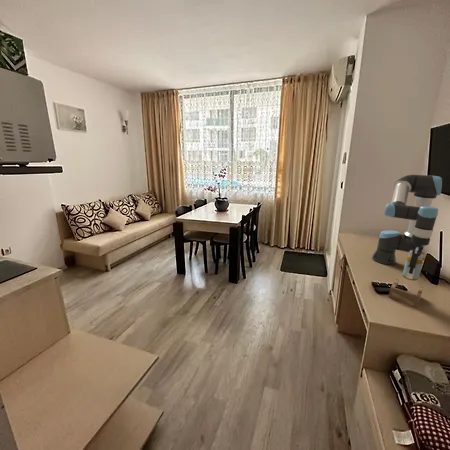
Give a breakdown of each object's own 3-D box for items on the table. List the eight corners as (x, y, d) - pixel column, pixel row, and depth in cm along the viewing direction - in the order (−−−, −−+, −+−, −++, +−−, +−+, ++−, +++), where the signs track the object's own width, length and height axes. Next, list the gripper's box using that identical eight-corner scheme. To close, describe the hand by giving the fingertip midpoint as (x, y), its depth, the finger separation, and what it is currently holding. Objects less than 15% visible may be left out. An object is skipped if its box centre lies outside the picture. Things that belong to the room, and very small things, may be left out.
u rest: (393, 288, 145) (396, 279, 144) (420, 297, 137) (423, 287, 135) (388, 297, 135) (390, 287, 134) (416, 307, 127) (419, 297, 125)
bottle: (420, 281, 130) (428, 255, 126) (405, 280, 131) (412, 253, 127) (413, 275, 136) (420, 250, 132) (399, 274, 138) (406, 249, 133)
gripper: (415, 230, 137) (405, 268, 143) (409, 238, 123) (398, 279, 129) (432, 234, 132) (421, 273, 138) (428, 242, 118) (416, 285, 124)
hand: (410, 276), depth 133 cm, fingers closed on bottle, 7 cm apart
